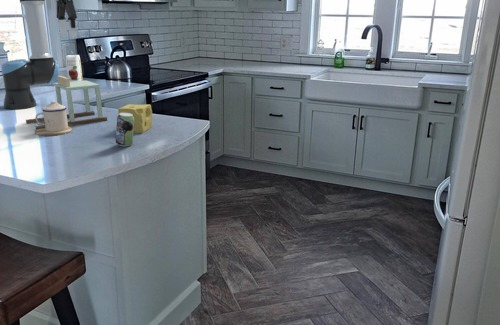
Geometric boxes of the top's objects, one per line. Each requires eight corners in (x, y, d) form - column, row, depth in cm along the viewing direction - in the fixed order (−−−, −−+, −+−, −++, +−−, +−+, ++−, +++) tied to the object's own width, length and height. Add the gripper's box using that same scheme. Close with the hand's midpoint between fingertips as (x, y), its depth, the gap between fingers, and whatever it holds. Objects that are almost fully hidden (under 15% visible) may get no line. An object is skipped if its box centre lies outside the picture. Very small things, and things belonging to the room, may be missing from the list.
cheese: (143, 133, 191) (141, 109, 188) (118, 132, 193) (116, 108, 190) (153, 127, 201) (151, 104, 198) (129, 126, 203) (127, 103, 200)
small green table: (58, 115, 218) (53, 75, 212) (89, 111, 226) (84, 72, 220) (71, 122, 204) (65, 79, 199) (102, 117, 212) (98, 76, 207)
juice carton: (70, 83, 322) (67, 54, 316) (83, 83, 323) (80, 54, 317) (67, 85, 315) (64, 55, 309) (81, 84, 316) (77, 55, 310)
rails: (26, 123, 210) (25, 119, 210) (93, 114, 227) (92, 111, 227) (36, 130, 197) (36, 127, 196) (107, 120, 214) (106, 117, 213)
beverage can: (117, 143, 177) (114, 111, 174) (137, 142, 178) (135, 111, 174) (114, 148, 171) (111, 115, 168) (135, 147, 172) (132, 114, 168)
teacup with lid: (69, 125, 201) (65, 98, 197) (68, 130, 193) (65, 102, 189) (38, 128, 197) (34, 100, 194) (36, 133, 189) (32, 104, 185)
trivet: (31, 131, 196) (30, 129, 196) (65, 126, 204) (65, 124, 204) (40, 137, 186) (40, 135, 185) (76, 132, 194) (76, 130, 193)
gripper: (45, -16, 210) (51, 34, 217) (62, -18, 191) (68, 36, 198) (62, -15, 214) (68, 34, 221) (81, -18, 195) (86, 36, 202)
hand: (68, 35), depth 209 cm, fingers open, 13 cm apart
